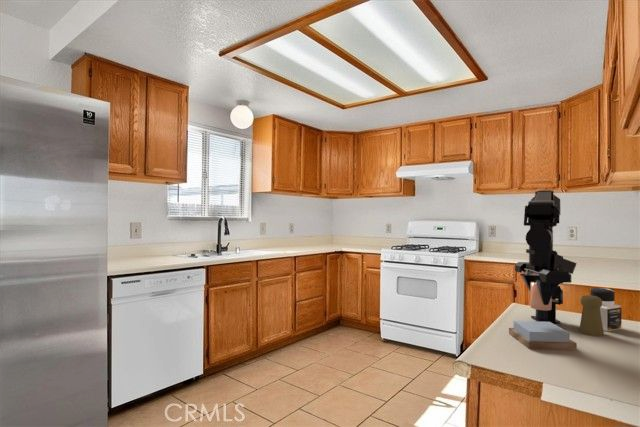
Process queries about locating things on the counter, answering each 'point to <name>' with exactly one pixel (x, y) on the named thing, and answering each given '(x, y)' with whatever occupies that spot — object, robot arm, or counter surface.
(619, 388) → the counter surface
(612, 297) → the medicine bottle
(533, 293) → the terracotta cylinder
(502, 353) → the counter surface
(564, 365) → the counter surface
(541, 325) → the slate slab
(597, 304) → the olive green tapered piece
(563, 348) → the walnut slab
